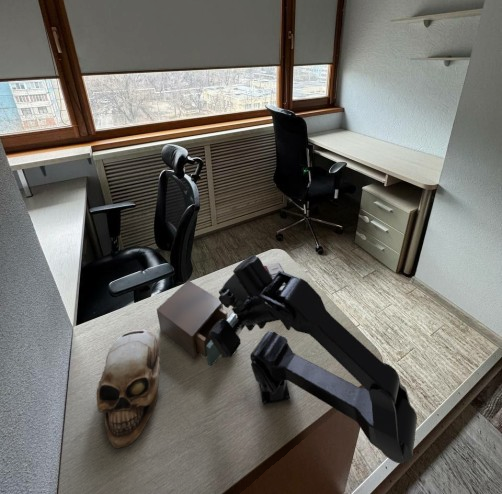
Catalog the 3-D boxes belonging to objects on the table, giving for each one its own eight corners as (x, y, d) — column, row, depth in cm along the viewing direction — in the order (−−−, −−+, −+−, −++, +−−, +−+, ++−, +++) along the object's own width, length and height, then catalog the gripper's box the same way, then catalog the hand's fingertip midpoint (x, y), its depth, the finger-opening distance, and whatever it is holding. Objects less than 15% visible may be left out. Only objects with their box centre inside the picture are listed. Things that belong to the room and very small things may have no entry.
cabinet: (223, 323, 80) (222, 301, 76) (194, 359, 70) (192, 336, 67) (190, 301, 87) (188, 280, 83) (160, 331, 77) (156, 309, 74)
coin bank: (116, 458, 53) (102, 413, 49) (89, 393, 65) (76, 352, 61) (184, 392, 64) (176, 351, 60) (150, 346, 76) (142, 309, 72)
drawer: (240, 334, 76) (239, 316, 73) (214, 370, 67) (213, 351, 64) (204, 310, 83) (202, 293, 80) (177, 340, 74) (174, 321, 71)
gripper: (264, 250, 65) (230, 266, 75) (212, 307, 51) (179, 318, 61) (292, 289, 64) (253, 300, 74) (247, 359, 50) (207, 361, 60)
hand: (225, 317), depth 67 cm, fingers open, 9 cm apart
